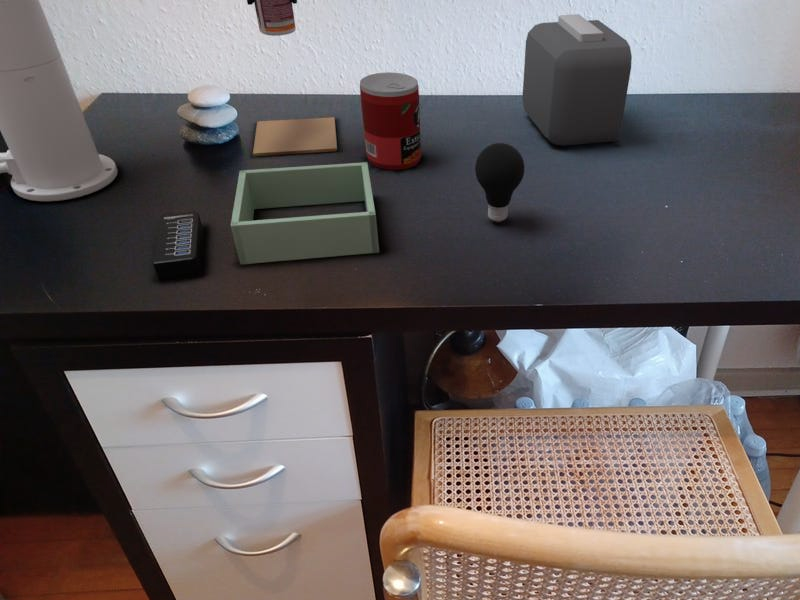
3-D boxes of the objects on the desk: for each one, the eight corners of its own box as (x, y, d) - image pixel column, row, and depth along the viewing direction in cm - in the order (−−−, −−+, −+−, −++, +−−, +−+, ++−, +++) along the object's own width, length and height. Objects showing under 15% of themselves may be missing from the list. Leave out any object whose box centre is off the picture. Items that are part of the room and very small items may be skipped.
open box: (240, 264, 74) (230, 225, 71) (248, 206, 84) (239, 170, 81) (379, 252, 77) (375, 214, 73) (370, 197, 87) (367, 161, 83)
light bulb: (497, 205, 86) (500, 130, 79) (530, 222, 83) (536, 146, 76) (464, 221, 83) (465, 144, 76) (497, 239, 80) (501, 160, 73)
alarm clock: (618, 147, 100) (636, 37, 90) (547, 153, 98) (557, 42, 88) (580, 107, 112) (592, 7, 102) (516, 112, 110) (522, 10, 100)
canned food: (413, 173, 92) (409, 94, 85) (359, 167, 93) (350, 88, 86) (427, 151, 98) (425, 74, 91) (376, 145, 99) (369, 69, 92)
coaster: (253, 156, 95) (252, 153, 95) (257, 124, 104) (257, 121, 104) (337, 151, 97) (337, 148, 97) (334, 120, 106) (334, 117, 106)
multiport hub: (158, 281, 72) (151, 263, 70) (164, 231, 79) (158, 213, 78) (200, 275, 73) (195, 257, 71) (203, 226, 80) (198, 209, 79)
